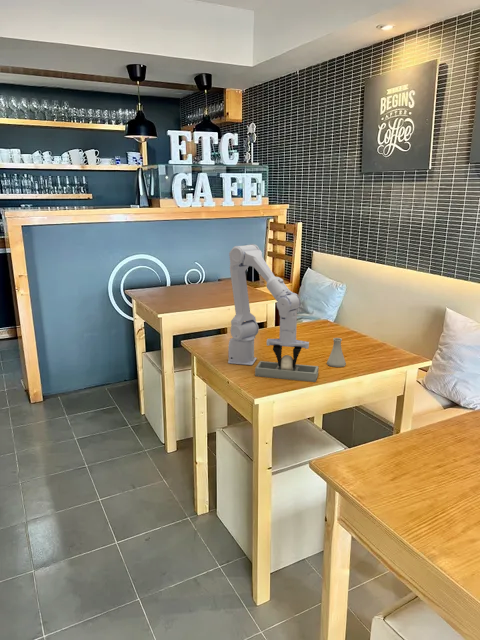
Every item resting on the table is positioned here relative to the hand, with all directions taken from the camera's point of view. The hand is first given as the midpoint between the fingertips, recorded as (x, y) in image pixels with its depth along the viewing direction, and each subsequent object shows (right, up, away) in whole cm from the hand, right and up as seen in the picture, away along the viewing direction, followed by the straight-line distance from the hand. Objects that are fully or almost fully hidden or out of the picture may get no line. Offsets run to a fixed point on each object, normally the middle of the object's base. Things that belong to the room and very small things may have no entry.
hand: (287, 366), depth 173 cm
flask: (+20, -1, +12) cm, 23 cm away
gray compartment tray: (0, -3, +1) cm, 3 cm away
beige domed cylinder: (0, -1, 0) cm, 1 cm away
